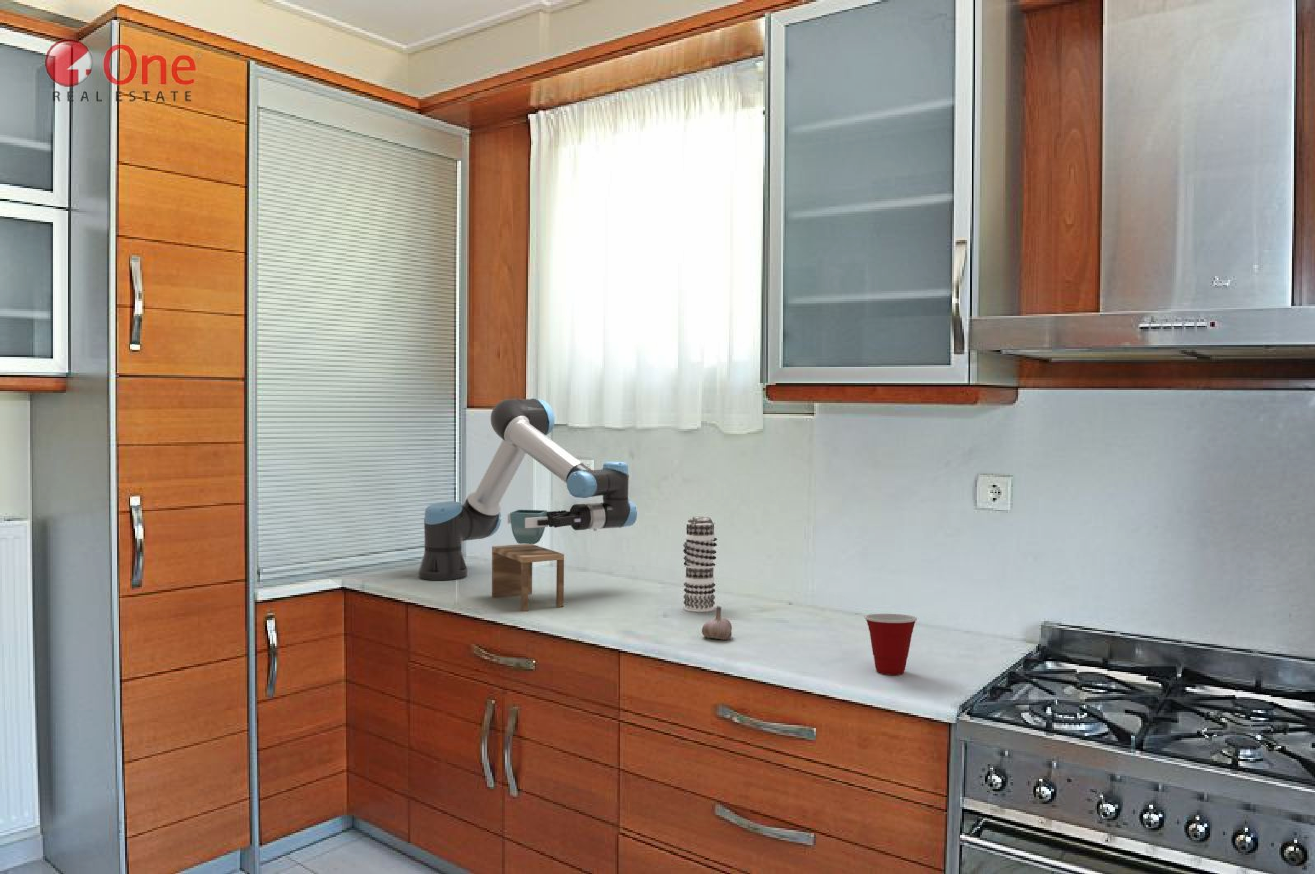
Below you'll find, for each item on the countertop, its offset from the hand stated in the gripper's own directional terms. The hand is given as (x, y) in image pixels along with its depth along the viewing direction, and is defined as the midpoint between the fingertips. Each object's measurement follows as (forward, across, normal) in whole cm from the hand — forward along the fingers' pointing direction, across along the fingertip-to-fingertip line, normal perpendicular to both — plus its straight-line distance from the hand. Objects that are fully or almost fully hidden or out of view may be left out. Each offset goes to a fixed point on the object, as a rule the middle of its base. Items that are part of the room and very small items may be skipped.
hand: (516, 520), depth 271 cm
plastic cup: (-41, -103, -24) cm, 113 cm away
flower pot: (-4, 0, -7) cm, 8 cm away
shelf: (-3, 0, -23) cm, 23 cm away
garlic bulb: (-26, -61, -24) cm, 70 cm away
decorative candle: (-41, -31, -23) cm, 56 cm away
